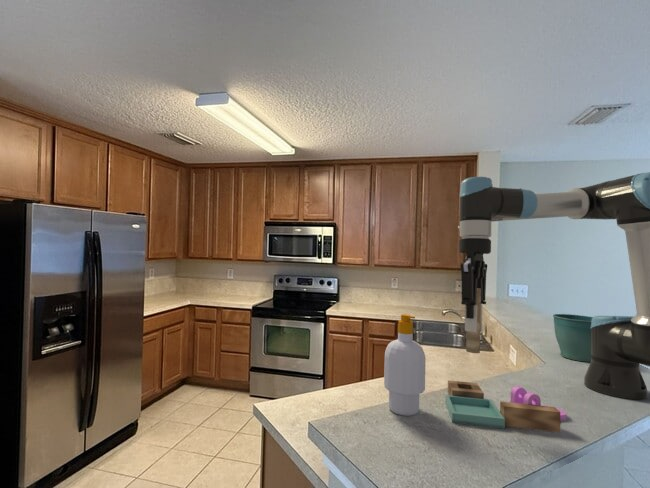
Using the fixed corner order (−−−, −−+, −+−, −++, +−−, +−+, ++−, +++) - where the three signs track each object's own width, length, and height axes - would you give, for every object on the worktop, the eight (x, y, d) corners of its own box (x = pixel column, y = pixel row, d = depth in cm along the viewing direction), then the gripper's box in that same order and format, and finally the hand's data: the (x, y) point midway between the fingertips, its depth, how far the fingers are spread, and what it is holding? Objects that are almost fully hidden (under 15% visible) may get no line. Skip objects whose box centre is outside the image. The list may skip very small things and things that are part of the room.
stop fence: (554, 426, 83) (554, 406, 83) (560, 432, 80) (560, 412, 80) (500, 420, 85) (500, 401, 86) (503, 425, 82) (503, 406, 83)
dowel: (468, 349, 91) (469, 287, 91) (481, 351, 89) (482, 288, 89) (464, 351, 88) (465, 287, 89) (477, 354, 86) (478, 288, 87)
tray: (491, 408, 92) (491, 399, 92) (504, 428, 81) (504, 419, 81) (445, 403, 95) (445, 394, 95) (452, 422, 83) (452, 413, 83)
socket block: (476, 395, 101) (476, 383, 101) (483, 406, 93) (483, 393, 93) (447, 392, 103) (447, 380, 103) (452, 403, 95) (452, 390, 95)
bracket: (527, 424, 84) (527, 394, 84) (510, 413, 90) (510, 386, 90) (571, 420, 87) (571, 391, 87) (552, 410, 93) (552, 383, 93)
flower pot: (603, 357, 148) (603, 317, 149) (609, 367, 133) (609, 322, 134) (552, 350, 158) (552, 312, 159) (553, 359, 143) (553, 317, 144)
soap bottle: (400, 422, 82) (403, 319, 84) (375, 405, 92) (377, 312, 93) (433, 414, 87) (435, 317, 88) (405, 399, 96) (407, 311, 97)
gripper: (470, 240, 98) (469, 324, 97) (448, 236, 86) (446, 332, 85) (499, 240, 93) (498, 328, 92) (479, 235, 81) (478, 337, 80)
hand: (473, 330), depth 89 cm, fingers closed on dowel, 3 cm apart
